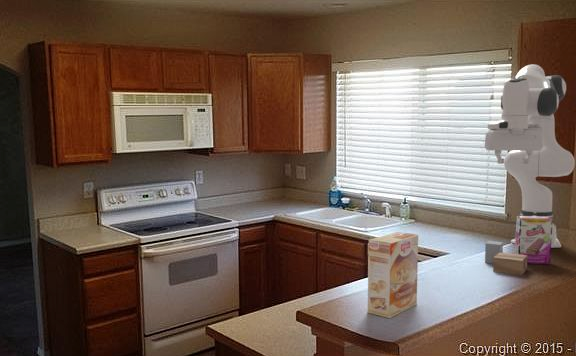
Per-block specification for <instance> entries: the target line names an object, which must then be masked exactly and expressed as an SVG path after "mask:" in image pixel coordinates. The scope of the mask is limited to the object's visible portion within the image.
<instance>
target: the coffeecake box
mask: <svg viewBox="0 0 576 356" xmlns="http://www.w3.org/2000/svg"><path fill="white" fill-rule="evenodd" d="M367 255H368V259H367V261H368V263H367V264H368V265H367V269H368V270H367V310H366V311H367V314H371V315H375V316H379V317H381V318H382V317H383V318H387V319H392V318H393V317H395V316H397V315H399V314H402V312H405V311H407V310H408V309H411V308H413V307H415V306H416V305H418V268H419V267H418V266H419V265H418V263H419V261H418V260H419V234H415V233H409V232H408V233H407V232H401V231H395V232H392V233H389V234H385V235H382V236H378V237H374V238H370V239H368V254H367Z"/></svg>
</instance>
